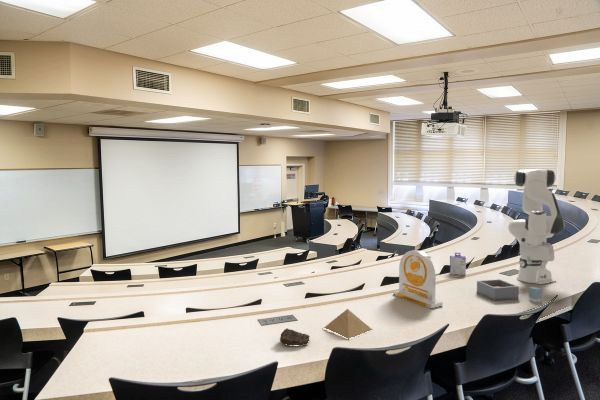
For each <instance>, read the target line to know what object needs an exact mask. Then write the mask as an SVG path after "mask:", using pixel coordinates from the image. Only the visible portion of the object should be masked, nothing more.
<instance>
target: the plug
mask: <svg viewBox="0 0 600 400" xmlns="http://www.w3.org/2000/svg"><path fill="white" fill-rule="evenodd" d="M528 300H529V301H531V302H533V303H539V302H542V288H540V287H537V286H529V287H528Z"/></svg>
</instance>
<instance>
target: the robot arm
mask: <svg viewBox="0 0 600 400" xmlns="http://www.w3.org/2000/svg"><path fill="white" fill-rule="evenodd" d="M556 179H557V178H556V173H555V171H554V170H552V169H540V168H535V169H533V168H532V169H519V170H517V171H516V172H515V174H514V176H513V180H514V183H515V185H516V186H517V187H521V188H523V193H522V203H521V204H522V206H521V209H522V212H524V213H525V214H527V215H528V216H527V217H525V219H514V220H513V219H512V220H511V221H510V222H509V223H508V227H507V228H508V232H509V233H510V235H512V236H514V238H515V239H516V240H517V242H518V243H519V253H520V257H519V263H518V264H519V267H518V268H519V270H518V273H517V277H516V280H517V281H520V282H524V283H529V284H537V285H538V284H539V285H544V284H551V283H555V281H556V280H557V279H555V278H553V275H552V272H551V270H549V269H548V268H547V264H549V263H548V262H554V260H555V249H554V246H553V245H552V243H549V242H547V239H549V238H552V237H553V236H554V235H559V234H561V233H562V232H563V231H564V229H565V221H564V219H563V216H562V214H561V211H560V208H559V203H558V201H557V198H556V196H555V194H554V193H553V192H551V191H550V190H549V188H550V187H552V186H554V184H555V182H556ZM543 204H544V205H546V206H547V207H548V209H549V211H550V215H547V212H546V211H545V210H544V209H543ZM550 282H551V283H550ZM556 282H557V281H556Z"/></svg>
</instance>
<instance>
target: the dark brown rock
mask: <svg viewBox="0 0 600 400" xmlns="http://www.w3.org/2000/svg"><path fill="white" fill-rule="evenodd" d="M309 339H310V335H309V334H307V333H302V332H299V331H297V330H295V329H290V328H285V329H284V330H283V331H281V333H280V338H279V342H280V343H281V344H283V345H285V344H287V345H303V344H307V343H308V344H309V342H310V340H309ZM308 341H309V342H308ZM303 346H304V345H303Z"/></svg>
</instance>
